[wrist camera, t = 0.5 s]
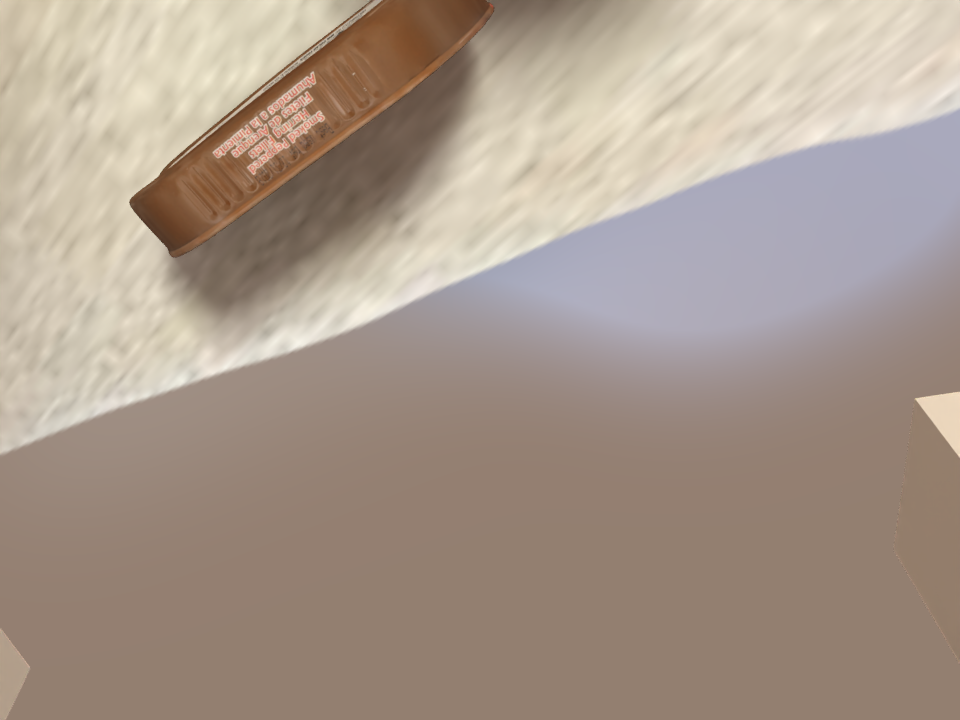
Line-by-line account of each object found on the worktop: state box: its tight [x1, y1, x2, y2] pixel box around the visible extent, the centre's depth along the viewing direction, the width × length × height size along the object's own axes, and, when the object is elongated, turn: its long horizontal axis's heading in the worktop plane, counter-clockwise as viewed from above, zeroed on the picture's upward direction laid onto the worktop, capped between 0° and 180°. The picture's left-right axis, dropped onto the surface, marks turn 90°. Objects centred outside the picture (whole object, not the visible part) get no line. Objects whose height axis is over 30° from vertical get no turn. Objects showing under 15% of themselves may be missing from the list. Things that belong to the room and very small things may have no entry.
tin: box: [129, 0, 494, 258], centre depth 31 cm, size 15×3×8 cm, turn 125°
